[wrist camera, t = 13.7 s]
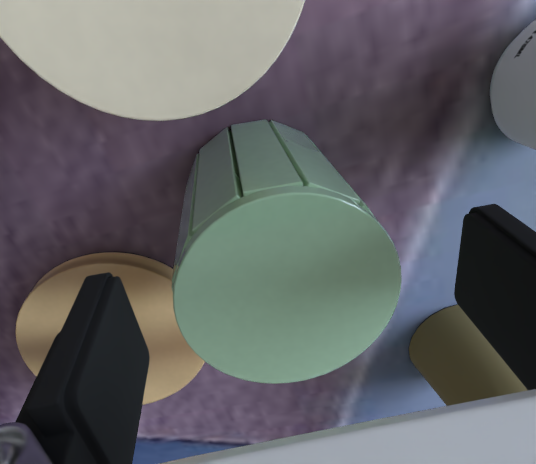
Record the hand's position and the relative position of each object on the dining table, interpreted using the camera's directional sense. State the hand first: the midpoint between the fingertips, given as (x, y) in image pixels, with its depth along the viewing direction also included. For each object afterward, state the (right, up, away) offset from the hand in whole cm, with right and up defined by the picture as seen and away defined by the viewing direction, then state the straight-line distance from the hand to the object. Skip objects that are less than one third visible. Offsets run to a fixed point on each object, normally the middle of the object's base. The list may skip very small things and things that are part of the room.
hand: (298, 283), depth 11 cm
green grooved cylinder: (-1, +3, +9) cm, 10 cm away
